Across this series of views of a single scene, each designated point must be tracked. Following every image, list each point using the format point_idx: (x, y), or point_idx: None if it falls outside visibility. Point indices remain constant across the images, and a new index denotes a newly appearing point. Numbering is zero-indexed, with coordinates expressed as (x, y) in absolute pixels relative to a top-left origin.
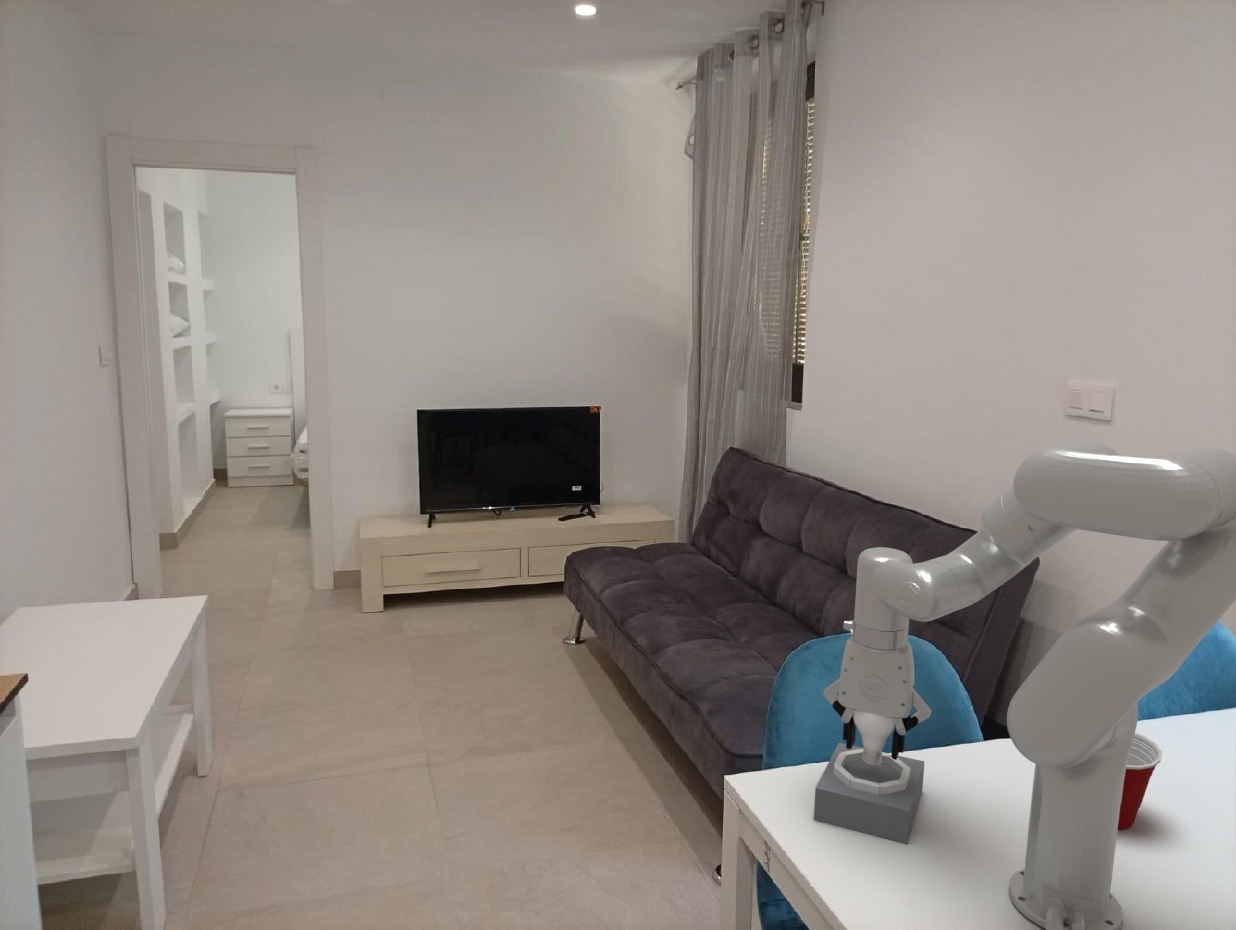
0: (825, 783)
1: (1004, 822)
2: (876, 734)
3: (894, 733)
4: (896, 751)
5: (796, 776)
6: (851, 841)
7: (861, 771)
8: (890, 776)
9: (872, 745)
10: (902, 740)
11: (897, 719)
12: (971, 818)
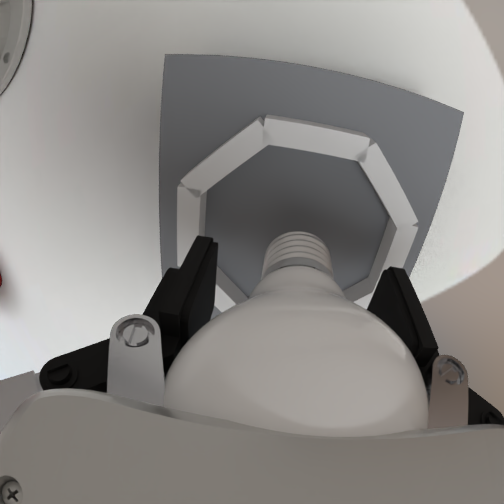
0: (436, 145)
1: (53, 218)
2: (285, 294)
3: (183, 327)
4: (188, 253)
5: (441, 265)
6: (330, 27)
7: (325, 241)
8: (237, 237)
9: (302, 273)
10: (153, 302)
11: (135, 395)
12: (93, 211)
